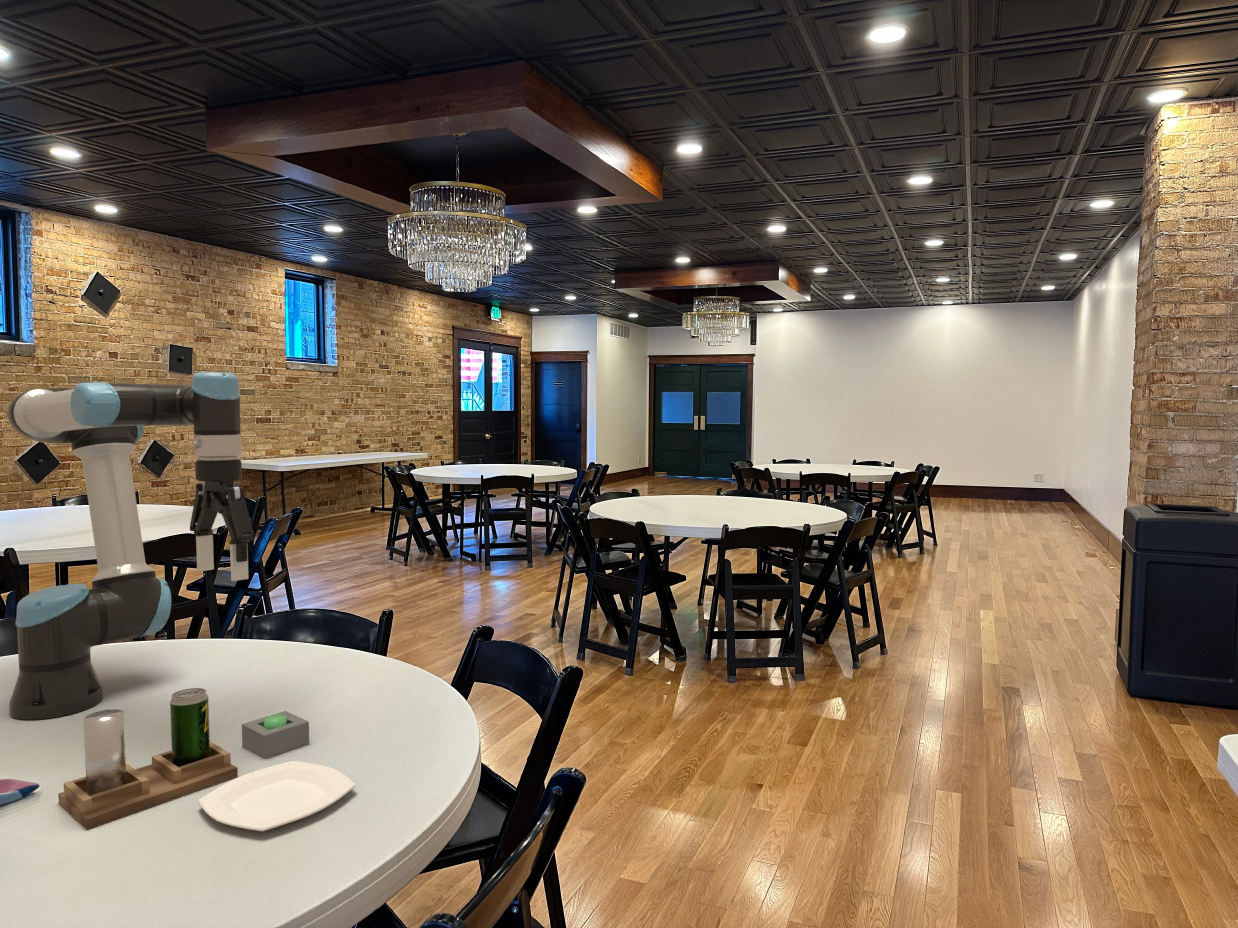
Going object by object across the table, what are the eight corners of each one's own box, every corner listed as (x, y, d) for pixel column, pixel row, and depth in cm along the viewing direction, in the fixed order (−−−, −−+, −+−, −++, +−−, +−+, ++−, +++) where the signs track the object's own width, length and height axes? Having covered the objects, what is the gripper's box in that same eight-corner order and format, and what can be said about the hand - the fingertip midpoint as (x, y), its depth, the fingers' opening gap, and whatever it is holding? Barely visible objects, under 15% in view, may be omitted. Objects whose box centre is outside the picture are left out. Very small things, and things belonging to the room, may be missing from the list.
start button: (260, 735, 139) (260, 718, 139) (280, 729, 142) (279, 712, 142) (270, 740, 137) (270, 723, 137) (290, 734, 140) (290, 717, 140)
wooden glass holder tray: (58, 803, 119) (57, 780, 119) (204, 756, 135) (203, 736, 135) (87, 829, 111) (86, 805, 111) (237, 776, 128) (237, 755, 127)
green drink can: (174, 776, 124) (171, 701, 123) (171, 764, 129) (168, 691, 128) (212, 768, 127) (210, 694, 126) (208, 756, 132) (205, 685, 131)
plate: (259, 852, 106) (258, 838, 106) (179, 814, 116) (178, 801, 116) (373, 794, 122) (373, 782, 122) (294, 765, 133) (294, 753, 132)
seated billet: (81, 795, 118) (78, 716, 117) (119, 783, 122) (116, 706, 121) (94, 805, 115) (90, 724, 114) (132, 793, 119) (129, 714, 118)
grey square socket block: (242, 746, 139) (241, 723, 139) (286, 732, 145) (285, 710, 145) (265, 758, 134) (264, 735, 134) (309, 743, 140) (308, 721, 140)
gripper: (167, 457, 149) (171, 569, 150) (229, 462, 133) (233, 587, 134) (208, 455, 155) (212, 563, 156) (273, 460, 139) (276, 580, 140)
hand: (222, 574), depth 145 cm, fingers open, 13 cm apart
